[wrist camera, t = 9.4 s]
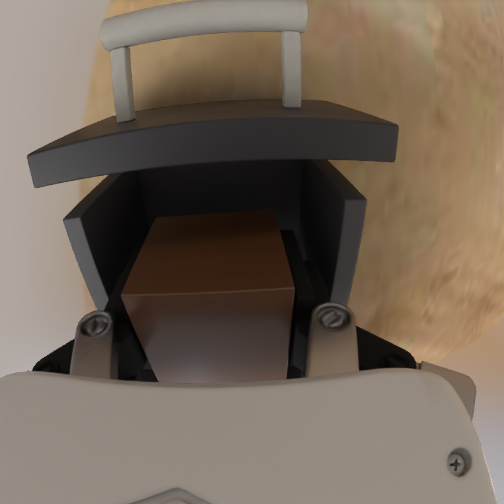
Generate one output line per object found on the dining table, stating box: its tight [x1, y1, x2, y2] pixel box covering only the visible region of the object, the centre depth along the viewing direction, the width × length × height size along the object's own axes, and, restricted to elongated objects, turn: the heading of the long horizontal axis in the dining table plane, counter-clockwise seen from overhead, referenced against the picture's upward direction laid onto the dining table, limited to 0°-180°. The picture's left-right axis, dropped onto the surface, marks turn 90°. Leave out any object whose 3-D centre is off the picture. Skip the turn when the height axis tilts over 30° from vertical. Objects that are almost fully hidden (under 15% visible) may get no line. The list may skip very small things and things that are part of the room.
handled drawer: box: [27, 0, 399, 370], centre depth 13 cm, size 18×11×8 cm, turn 2°
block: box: [121, 211, 295, 383], centre depth 10 cm, size 4×4×4 cm
